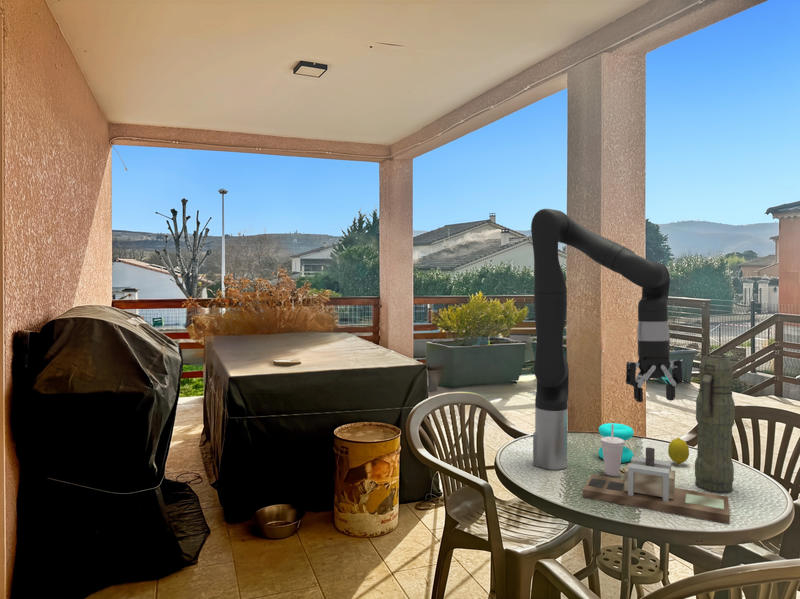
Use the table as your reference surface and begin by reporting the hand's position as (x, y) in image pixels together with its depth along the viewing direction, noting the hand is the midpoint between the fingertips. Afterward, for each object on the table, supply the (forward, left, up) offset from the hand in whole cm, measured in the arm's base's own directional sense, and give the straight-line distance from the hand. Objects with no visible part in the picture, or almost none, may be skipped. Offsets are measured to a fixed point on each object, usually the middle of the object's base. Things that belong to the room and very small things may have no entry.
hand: (654, 400), depth 143 cm
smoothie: (-11, +7, -24) cm, 27 cm away
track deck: (+1, -8, -24) cm, 25 cm away
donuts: (-12, +21, -24) cm, 34 cm away
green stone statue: (+14, +9, -24) cm, 29 cm away
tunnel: (0, -8, -22) cm, 23 cm away
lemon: (+5, +24, -24) cm, 34 cm away
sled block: (0, -8, -21) cm, 22 cm away
